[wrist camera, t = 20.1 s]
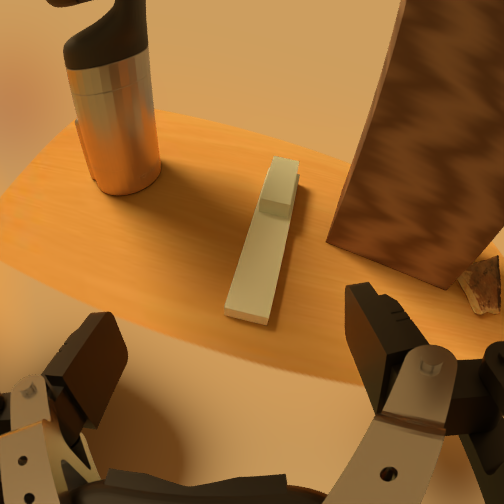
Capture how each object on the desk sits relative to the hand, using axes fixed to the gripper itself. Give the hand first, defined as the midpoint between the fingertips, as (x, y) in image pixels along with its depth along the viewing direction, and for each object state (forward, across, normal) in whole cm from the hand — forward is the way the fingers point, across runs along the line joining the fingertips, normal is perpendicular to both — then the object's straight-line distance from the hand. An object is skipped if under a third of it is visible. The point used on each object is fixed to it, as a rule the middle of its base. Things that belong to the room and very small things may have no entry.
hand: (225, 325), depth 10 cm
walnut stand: (+26, -17, +8) cm, 32 cm away
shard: (+21, -29, +14) cm, 38 cm away
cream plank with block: (+24, -2, +6) cm, 25 cm away
